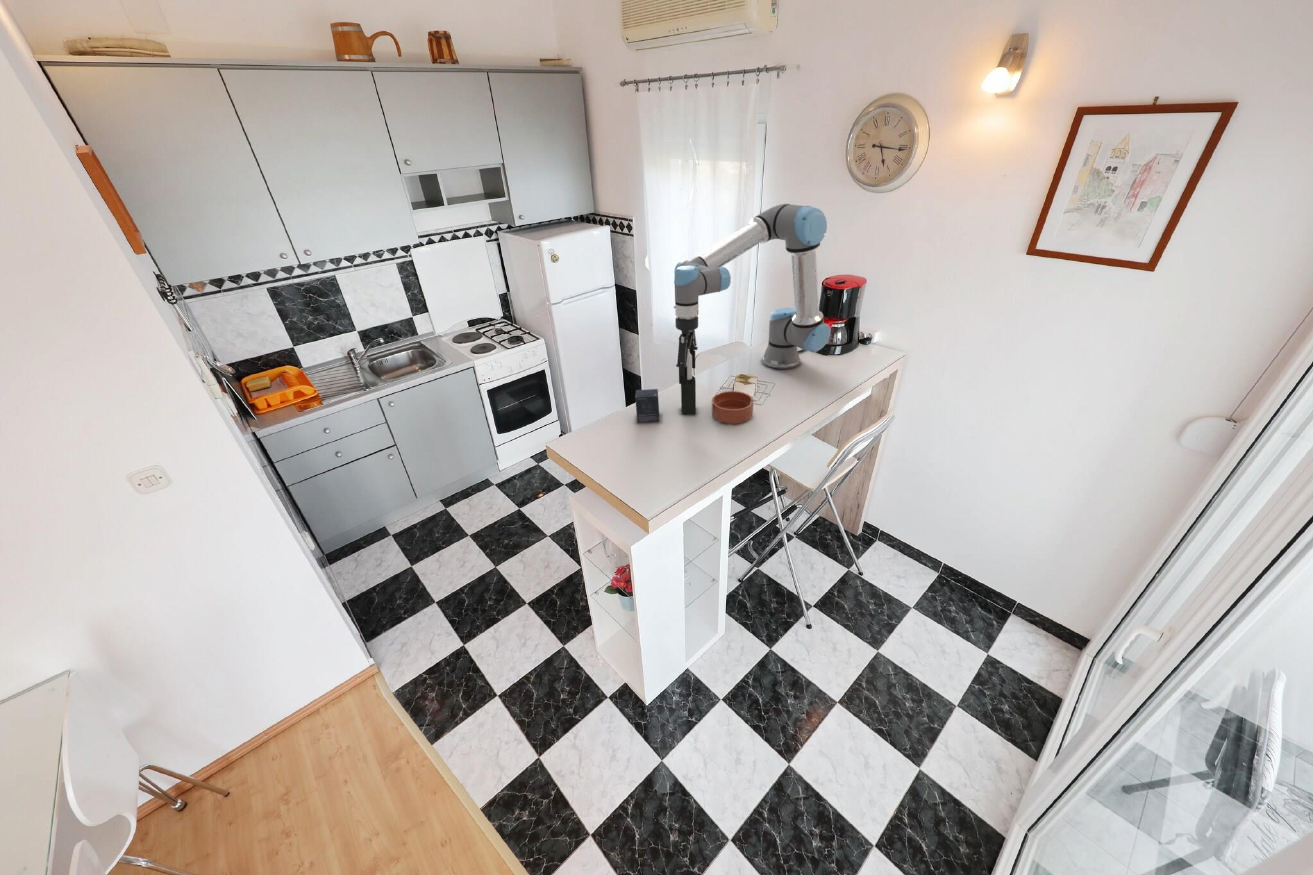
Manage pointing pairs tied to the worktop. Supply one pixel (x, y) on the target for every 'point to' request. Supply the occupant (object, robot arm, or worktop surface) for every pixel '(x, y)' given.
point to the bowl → (732, 407)
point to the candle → (689, 390)
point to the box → (647, 405)
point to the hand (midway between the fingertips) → (687, 375)
